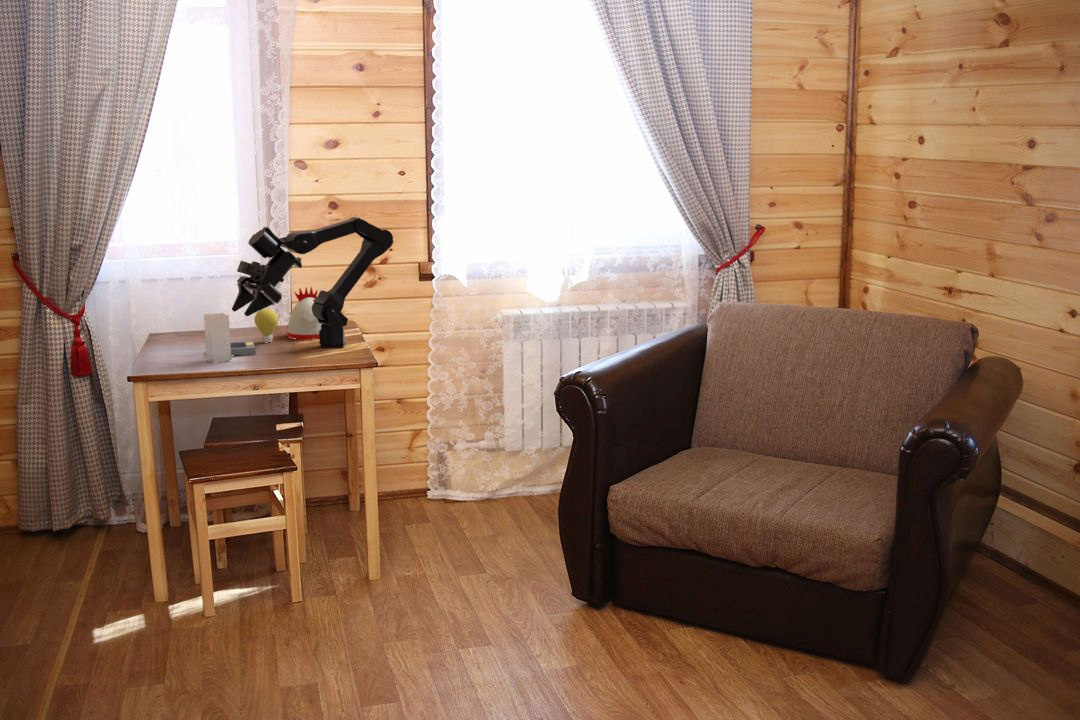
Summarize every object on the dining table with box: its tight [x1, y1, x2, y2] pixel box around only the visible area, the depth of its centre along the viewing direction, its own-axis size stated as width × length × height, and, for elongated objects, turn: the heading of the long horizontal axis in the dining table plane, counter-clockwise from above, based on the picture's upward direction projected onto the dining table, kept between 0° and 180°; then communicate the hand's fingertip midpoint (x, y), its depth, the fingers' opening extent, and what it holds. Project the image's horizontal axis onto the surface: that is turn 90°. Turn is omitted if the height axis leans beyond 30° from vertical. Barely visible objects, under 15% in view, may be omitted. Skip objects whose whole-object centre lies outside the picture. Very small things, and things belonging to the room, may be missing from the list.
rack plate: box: [230, 340, 256, 357], centre depth 297 cm, size 11×10×2 cm
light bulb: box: [254, 308, 279, 343], centre depth 310 cm, size 7×7×10 cm
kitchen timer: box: [286, 286, 322, 341], centre depth 320 cm, size 14×14×15 cm
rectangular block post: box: [203, 312, 232, 364], centre depth 285 cm, size 5×5×12 cm
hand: (239, 312), depth 288 cm, fingers open, 9 cm apart
